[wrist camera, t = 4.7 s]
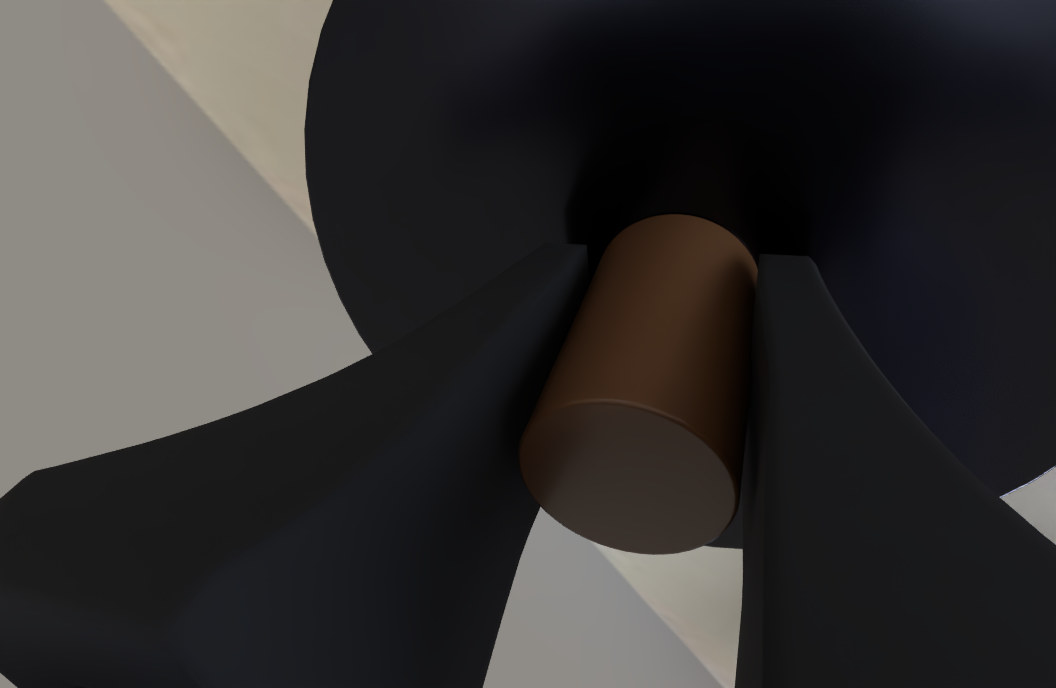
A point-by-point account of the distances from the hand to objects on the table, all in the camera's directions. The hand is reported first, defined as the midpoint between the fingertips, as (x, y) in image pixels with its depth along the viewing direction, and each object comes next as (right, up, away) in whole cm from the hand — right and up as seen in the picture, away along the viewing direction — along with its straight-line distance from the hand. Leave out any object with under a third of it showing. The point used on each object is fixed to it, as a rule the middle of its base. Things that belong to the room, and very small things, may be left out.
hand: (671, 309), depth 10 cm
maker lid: (0, +1, +1) cm, 1 cm away
